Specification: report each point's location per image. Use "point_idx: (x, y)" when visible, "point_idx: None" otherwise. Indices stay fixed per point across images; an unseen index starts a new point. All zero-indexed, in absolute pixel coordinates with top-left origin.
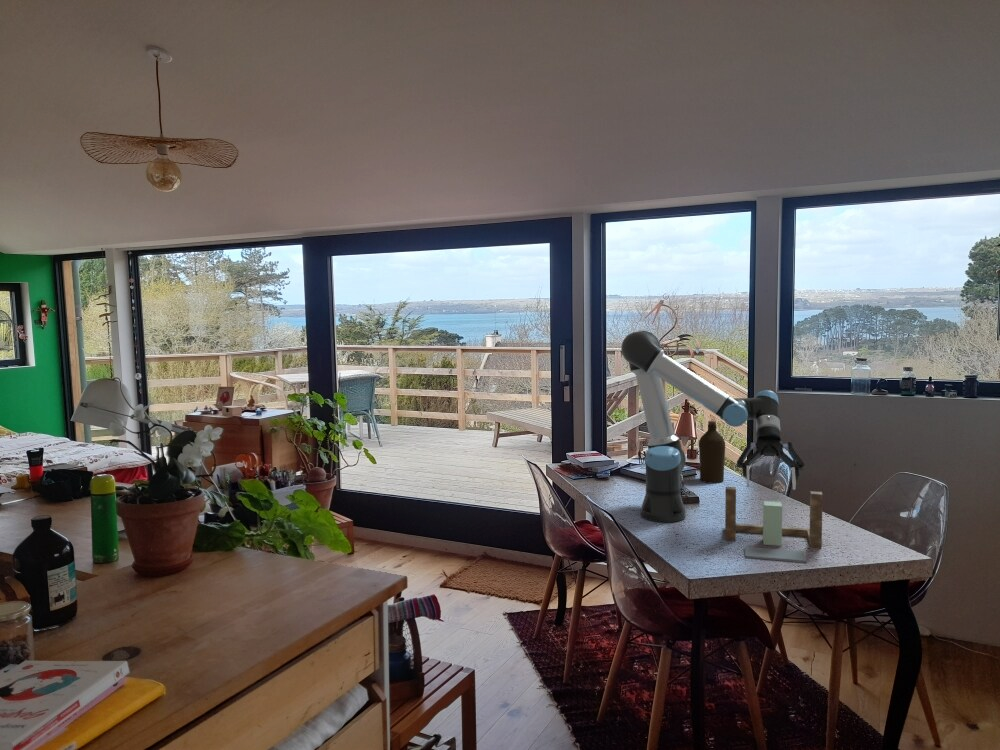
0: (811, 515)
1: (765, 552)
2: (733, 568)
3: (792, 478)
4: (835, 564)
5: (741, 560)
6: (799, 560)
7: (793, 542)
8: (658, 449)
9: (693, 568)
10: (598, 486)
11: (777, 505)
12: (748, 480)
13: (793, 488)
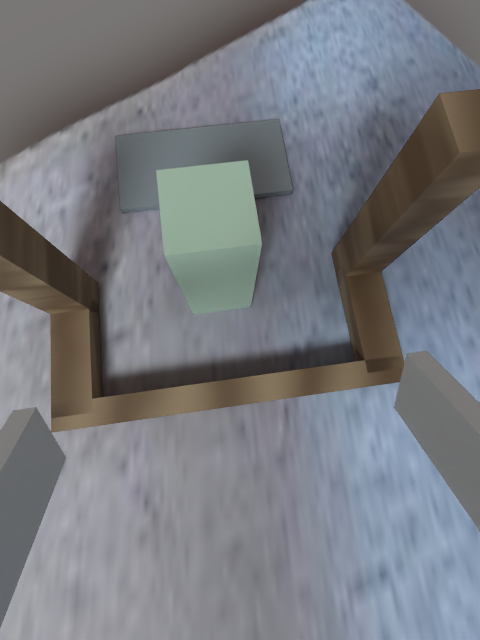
0: (30, 228)
1: (228, 161)
2: (293, 47)
3: (7, 526)
4: (41, 155)
5: (284, 102)
6: (135, 135)
7: (150, 310)
8: None
9: (380, 19)
10: None
11: (180, 178)
12: (428, 367)
13: (55, 448)
